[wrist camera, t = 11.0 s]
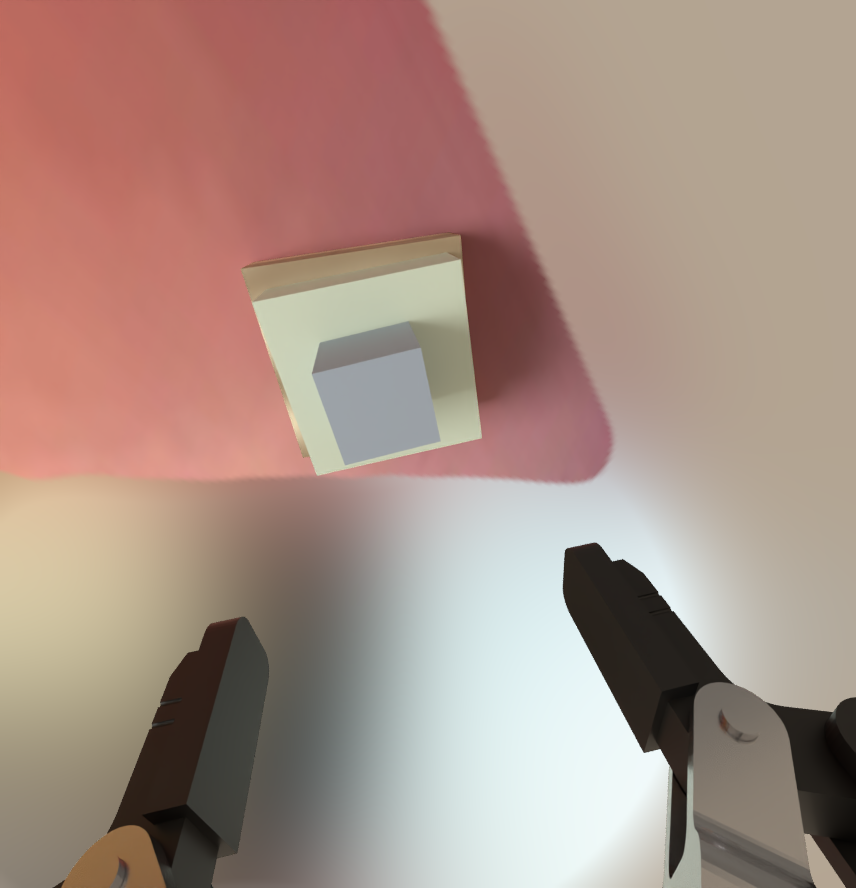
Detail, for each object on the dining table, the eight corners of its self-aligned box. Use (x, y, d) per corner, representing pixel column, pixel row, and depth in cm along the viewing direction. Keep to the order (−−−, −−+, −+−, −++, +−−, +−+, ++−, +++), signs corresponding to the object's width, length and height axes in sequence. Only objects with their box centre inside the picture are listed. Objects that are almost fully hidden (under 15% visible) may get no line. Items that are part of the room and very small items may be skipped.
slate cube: (319, 342, 23) (311, 374, 18) (408, 321, 23) (420, 347, 19) (346, 421, 25) (344, 465, 21) (426, 401, 25) (440, 441, 21)
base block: (254, 261, 27) (240, 269, 24) (447, 231, 28) (460, 235, 25) (308, 432, 34) (303, 457, 31) (463, 404, 35) (475, 425, 31)
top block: (266, 289, 25) (251, 302, 21) (446, 252, 25) (460, 259, 22) (321, 445, 30) (317, 475, 27) (467, 412, 31) (481, 438, 27)
